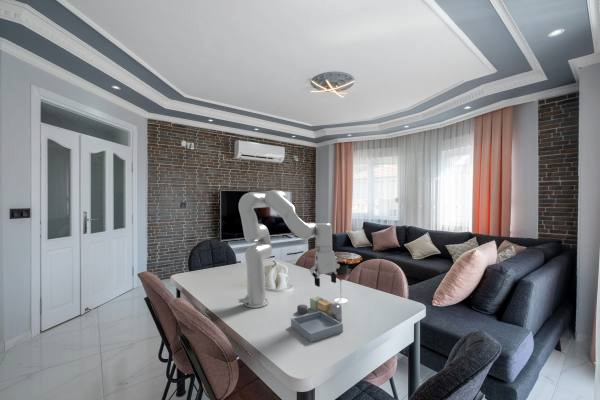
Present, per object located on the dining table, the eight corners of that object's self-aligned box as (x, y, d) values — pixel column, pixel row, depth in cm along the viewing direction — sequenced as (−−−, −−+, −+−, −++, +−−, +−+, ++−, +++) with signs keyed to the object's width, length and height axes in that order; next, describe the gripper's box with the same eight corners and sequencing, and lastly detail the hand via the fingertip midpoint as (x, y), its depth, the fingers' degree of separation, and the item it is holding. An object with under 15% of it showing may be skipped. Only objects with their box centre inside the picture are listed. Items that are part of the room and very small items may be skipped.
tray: (310, 342, 106) (310, 333, 106) (291, 326, 119) (290, 318, 119) (342, 331, 114) (342, 323, 114) (320, 317, 128) (320, 310, 128)
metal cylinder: (335, 324, 121) (335, 308, 121) (328, 320, 125) (328, 305, 125) (343, 321, 123) (343, 306, 123) (337, 317, 127) (336, 302, 128)
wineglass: (339, 304, 143) (339, 266, 144) (330, 299, 151) (329, 263, 151) (351, 301, 147) (351, 264, 147) (342, 296, 155) (341, 261, 155)
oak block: (325, 317, 128) (324, 305, 128) (317, 313, 133) (317, 301, 133) (332, 315, 130) (332, 303, 130) (325, 311, 135) (325, 299, 135)
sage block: (315, 311, 136) (315, 301, 136) (310, 307, 140) (310, 298, 140) (323, 308, 138) (323, 299, 138) (318, 305, 143) (318, 296, 143)
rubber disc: (300, 315, 131) (300, 309, 131) (295, 311, 135) (295, 305, 135) (309, 313, 133) (309, 307, 133) (304, 309, 138) (304, 303, 138)
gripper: (314, 252, 124) (315, 289, 124) (343, 247, 133) (344, 282, 132) (305, 249, 130) (306, 285, 130) (333, 245, 139) (335, 279, 139)
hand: (325, 284), depth 131 cm, fingers open, 9 cm apart
